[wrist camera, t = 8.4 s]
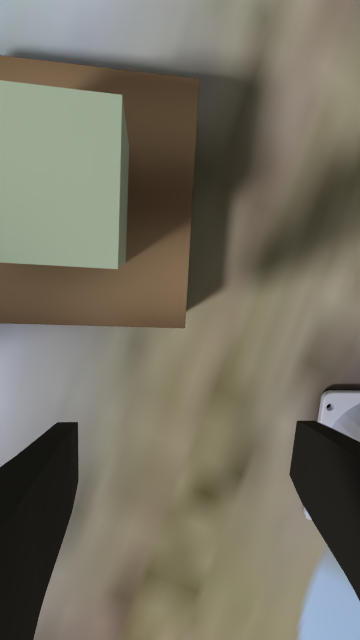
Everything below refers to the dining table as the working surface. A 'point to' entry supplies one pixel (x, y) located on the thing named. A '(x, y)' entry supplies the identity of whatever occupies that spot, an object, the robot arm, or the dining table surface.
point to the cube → (62, 176)
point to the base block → (142, 209)
